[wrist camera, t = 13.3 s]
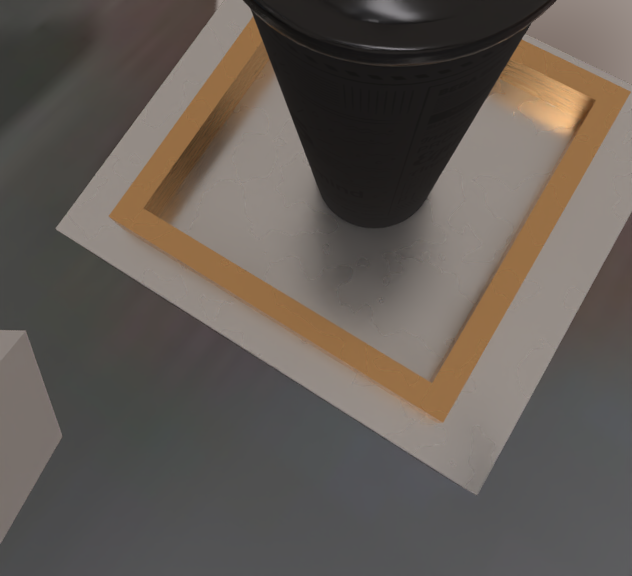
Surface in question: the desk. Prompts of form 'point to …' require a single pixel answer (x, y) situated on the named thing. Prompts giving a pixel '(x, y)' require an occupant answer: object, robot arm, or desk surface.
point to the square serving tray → (374, 240)
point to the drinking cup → (386, 89)
